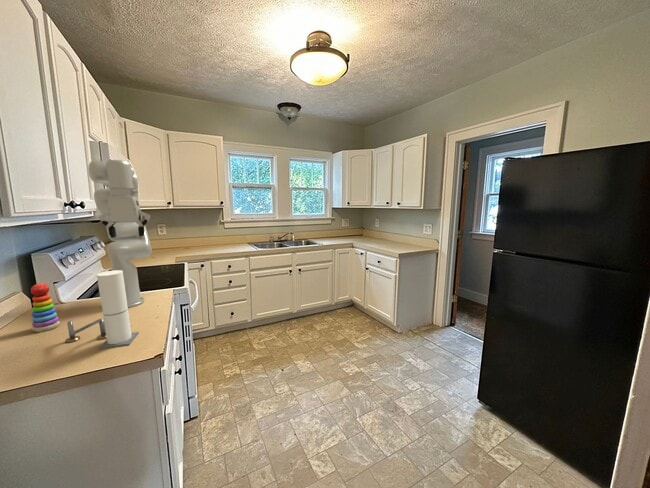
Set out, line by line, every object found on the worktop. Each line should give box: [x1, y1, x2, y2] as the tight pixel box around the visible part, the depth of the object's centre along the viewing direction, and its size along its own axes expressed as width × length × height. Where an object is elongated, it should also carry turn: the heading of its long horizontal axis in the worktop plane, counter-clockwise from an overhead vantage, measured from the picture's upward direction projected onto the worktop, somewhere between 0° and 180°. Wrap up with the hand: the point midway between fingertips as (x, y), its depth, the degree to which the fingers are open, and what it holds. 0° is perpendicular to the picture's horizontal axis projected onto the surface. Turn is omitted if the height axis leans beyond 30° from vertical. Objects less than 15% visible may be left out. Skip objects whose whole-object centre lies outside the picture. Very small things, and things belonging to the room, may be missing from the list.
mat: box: [98, 331, 140, 350], centre depth 99 cm, size 9×9×1 cm
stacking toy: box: [30, 282, 61, 333], centre depth 108 cm, size 8×8×19 cm
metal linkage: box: [65, 318, 107, 344], centre depth 96 cm, size 14×14×8 cm
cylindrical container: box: [96, 270, 132, 344], centre depth 97 cm, size 7×7×25 cm
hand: (127, 236), depth 108 cm, fingers open, 9 cm apart
